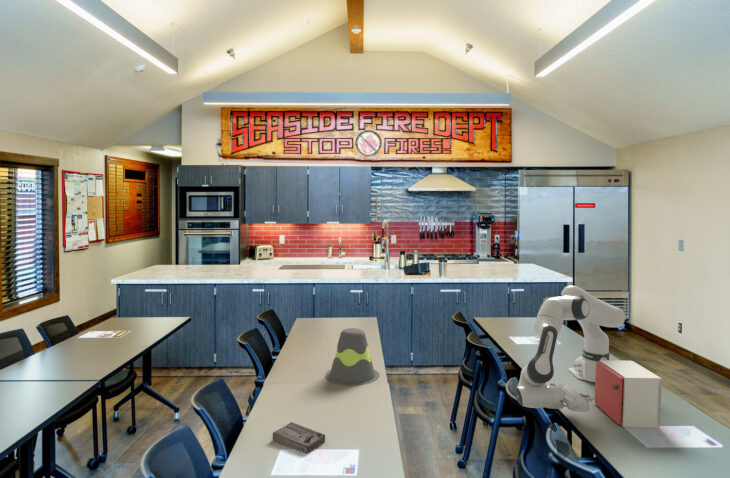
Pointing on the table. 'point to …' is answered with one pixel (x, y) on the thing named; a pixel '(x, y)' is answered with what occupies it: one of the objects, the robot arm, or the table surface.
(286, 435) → the box
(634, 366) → the cabinet
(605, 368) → the door
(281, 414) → the table surface
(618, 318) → the robot arm
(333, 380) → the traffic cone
